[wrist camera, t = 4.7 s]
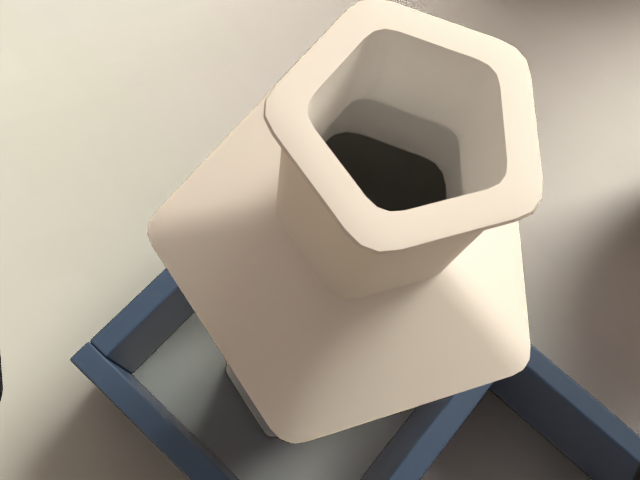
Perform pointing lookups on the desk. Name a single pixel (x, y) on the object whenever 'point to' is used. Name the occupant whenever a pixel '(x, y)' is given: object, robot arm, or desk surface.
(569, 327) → the desk surface
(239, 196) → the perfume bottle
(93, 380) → the box
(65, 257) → the desk surface
